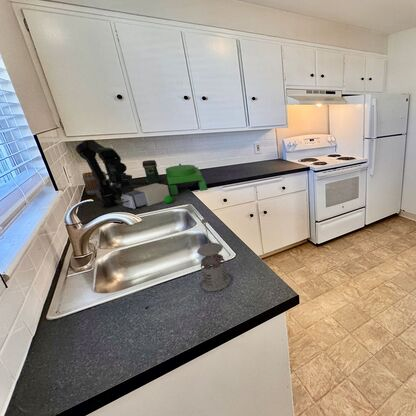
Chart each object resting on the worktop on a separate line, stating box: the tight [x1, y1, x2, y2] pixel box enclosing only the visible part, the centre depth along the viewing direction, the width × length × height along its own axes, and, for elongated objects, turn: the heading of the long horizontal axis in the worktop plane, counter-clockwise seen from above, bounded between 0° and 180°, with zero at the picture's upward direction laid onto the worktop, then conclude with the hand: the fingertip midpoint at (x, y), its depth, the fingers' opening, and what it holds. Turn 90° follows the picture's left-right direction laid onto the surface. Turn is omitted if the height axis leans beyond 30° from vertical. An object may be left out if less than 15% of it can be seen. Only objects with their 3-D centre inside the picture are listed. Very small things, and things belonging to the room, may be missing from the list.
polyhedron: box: [163, 195, 174, 204], centre depth 174 cm, size 5×5×5 cm
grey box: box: [133, 183, 171, 207], centre depth 177 cm, size 15×13×10 cm
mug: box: [82, 170, 108, 196], centre depth 196 cm, size 16×11×15 cm
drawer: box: [115, 190, 148, 210], centre depth 167 cm, size 18×11×8 cm, turn 152°
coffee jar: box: [141, 159, 162, 185], centre depth 217 cm, size 10×8×19 cm
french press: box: [196, 218, 232, 292], centre depth 92 cm, size 10×12×25 cm
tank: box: [164, 163, 208, 196], centre depth 206 cm, size 24×35×16 cm
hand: (120, 196), depth 160 cm, fingers closed
